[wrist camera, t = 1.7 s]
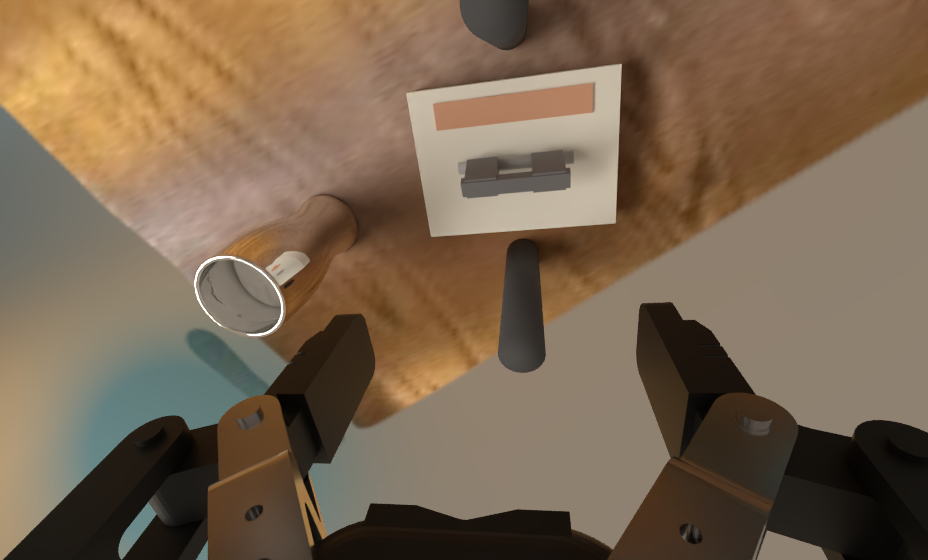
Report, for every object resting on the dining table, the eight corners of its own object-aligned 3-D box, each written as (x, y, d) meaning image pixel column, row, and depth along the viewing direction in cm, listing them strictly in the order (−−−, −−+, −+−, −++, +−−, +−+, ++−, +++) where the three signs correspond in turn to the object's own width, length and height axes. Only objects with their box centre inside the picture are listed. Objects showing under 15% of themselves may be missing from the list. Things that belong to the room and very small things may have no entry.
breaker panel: (415, 90, 35) (405, 93, 32) (613, 63, 32) (622, 63, 30) (436, 225, 40) (430, 237, 38) (609, 212, 38) (616, 224, 35)
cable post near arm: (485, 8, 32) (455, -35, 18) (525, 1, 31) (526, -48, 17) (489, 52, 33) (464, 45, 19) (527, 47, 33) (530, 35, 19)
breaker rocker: (458, 156, 34) (453, 182, 31) (572, 144, 32) (578, 170, 30) (461, 173, 35) (456, 200, 32) (572, 162, 33) (577, 189, 31)
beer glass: (364, 198, 40) (287, 265, 27) (360, 262, 44) (288, 349, 30) (295, 183, 40) (183, 242, 27) (295, 247, 44) (196, 328, 30)
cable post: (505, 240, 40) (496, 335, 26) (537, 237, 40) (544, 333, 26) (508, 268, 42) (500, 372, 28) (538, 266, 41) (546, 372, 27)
